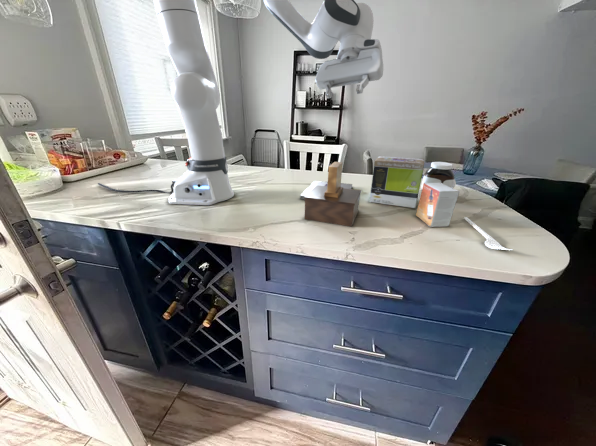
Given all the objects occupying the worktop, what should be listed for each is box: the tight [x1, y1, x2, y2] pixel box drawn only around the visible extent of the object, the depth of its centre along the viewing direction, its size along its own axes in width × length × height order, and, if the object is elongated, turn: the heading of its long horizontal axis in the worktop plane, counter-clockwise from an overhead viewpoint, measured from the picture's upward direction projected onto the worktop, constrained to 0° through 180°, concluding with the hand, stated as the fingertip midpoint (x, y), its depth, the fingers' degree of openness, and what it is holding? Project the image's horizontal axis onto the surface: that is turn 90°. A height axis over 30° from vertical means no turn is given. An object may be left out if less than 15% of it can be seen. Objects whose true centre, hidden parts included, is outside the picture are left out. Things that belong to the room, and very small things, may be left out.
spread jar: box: [421, 161, 457, 189], centre depth 92 cm, size 12×11×12 cm
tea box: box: [369, 155, 425, 209], centre depth 83 cm, size 15×10×15 cm, turn 65°
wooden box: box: [304, 185, 362, 227], centre depth 74 cm, size 14×12×7 cm
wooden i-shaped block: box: [324, 161, 344, 198], centre depth 70 cm, size 4×7×9 cm, turn 159°
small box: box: [415, 183, 460, 228], centre depth 69 cm, size 8×6×10 cm
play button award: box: [300, 180, 353, 201], centre depth 94 cm, size 16×2×20 cm
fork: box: [463, 216, 514, 251], centre depth 63 cm, size 3×20×2 cm, turn 171°
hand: (343, 94), depth 72 cm, fingers open, 8 cm apart
